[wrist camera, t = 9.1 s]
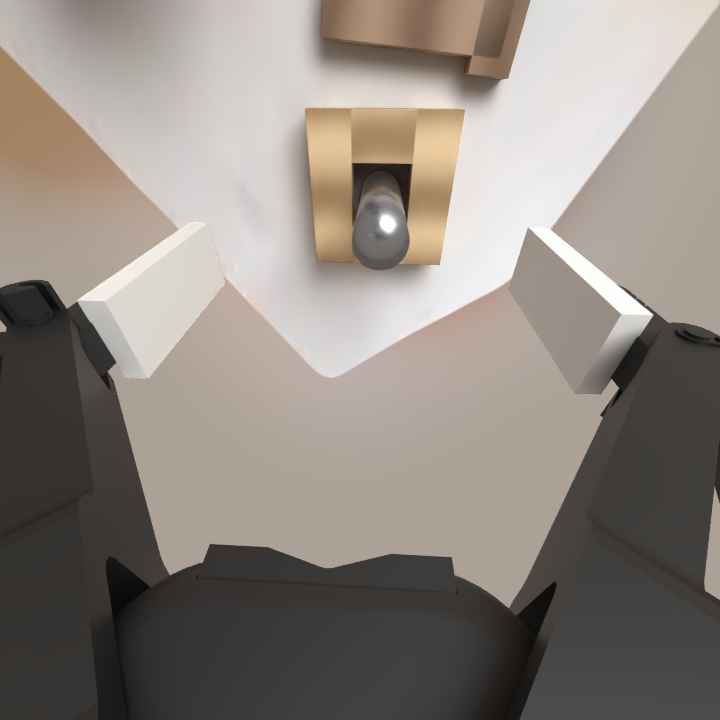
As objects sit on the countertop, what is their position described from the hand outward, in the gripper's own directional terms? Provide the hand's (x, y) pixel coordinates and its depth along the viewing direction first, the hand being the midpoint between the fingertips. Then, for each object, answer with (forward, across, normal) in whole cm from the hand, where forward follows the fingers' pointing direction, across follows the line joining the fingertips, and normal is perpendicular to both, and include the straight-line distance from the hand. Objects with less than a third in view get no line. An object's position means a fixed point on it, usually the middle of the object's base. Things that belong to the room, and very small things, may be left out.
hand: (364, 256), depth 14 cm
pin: (+21, +1, -2) cm, 21 cm away
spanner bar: (+21, +3, +9) cm, 23 cm away
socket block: (+21, +1, -2) cm, 21 cm away
